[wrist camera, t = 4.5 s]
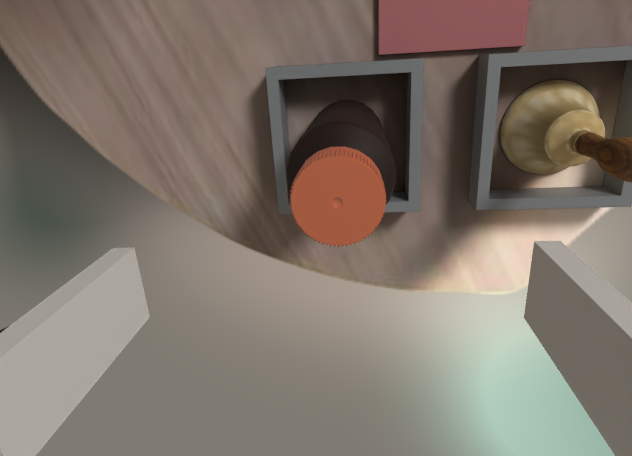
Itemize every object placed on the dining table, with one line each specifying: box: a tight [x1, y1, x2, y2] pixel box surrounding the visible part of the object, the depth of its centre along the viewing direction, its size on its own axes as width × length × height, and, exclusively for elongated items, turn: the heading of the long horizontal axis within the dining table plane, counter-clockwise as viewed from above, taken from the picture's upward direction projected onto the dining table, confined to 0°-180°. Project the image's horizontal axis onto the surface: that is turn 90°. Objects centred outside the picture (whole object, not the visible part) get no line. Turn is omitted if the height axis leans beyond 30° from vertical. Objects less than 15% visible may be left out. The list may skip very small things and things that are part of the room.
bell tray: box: [468, 46, 632, 210], centre depth 37 cm, size 13×13×3 cm
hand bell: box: [500, 80, 632, 183], centre depth 31 cm, size 8×8×16 cm
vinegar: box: [287, 100, 396, 247], centre depth 31 cm, size 7×7×20 cm
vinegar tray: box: [265, 58, 424, 215], centre depth 39 cm, size 13×13×3 cm
